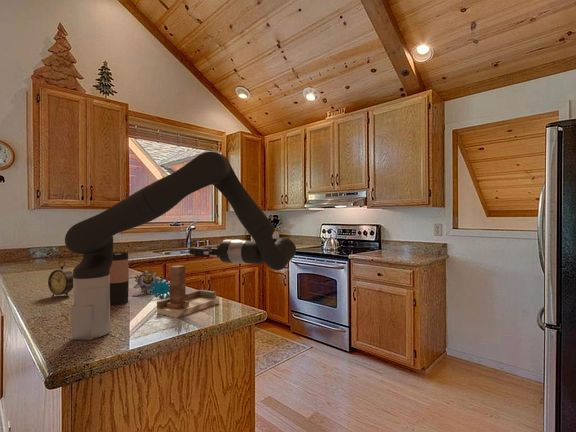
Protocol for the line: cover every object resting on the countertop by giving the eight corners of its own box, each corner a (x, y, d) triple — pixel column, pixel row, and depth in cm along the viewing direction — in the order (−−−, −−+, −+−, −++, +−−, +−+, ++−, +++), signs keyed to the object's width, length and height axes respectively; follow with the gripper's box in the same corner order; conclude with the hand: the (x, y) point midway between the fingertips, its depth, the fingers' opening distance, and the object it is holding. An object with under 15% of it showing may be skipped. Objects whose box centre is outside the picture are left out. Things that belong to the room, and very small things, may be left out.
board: (176, 318, 109) (176, 305, 109) (157, 313, 114) (156, 301, 114) (218, 303, 127) (218, 292, 127) (200, 300, 132) (200, 289, 132)
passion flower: (148, 305, 145) (133, 287, 139) (140, 296, 153) (126, 278, 147) (169, 288, 150) (155, 270, 144) (160, 280, 158) (147, 263, 152)
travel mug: (103, 303, 128) (102, 253, 128) (121, 299, 135) (120, 251, 135) (115, 306, 124) (114, 254, 124) (133, 301, 131) (132, 252, 131)
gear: (149, 296, 132) (150, 276, 138) (147, 304, 135) (147, 284, 142) (177, 296, 137) (176, 277, 144) (174, 304, 141) (173, 285, 147)
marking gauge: (178, 309, 111) (178, 268, 111) (166, 307, 114) (166, 266, 114) (190, 305, 116) (190, 265, 116) (179, 303, 119) (178, 264, 119)
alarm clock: (47, 296, 140) (46, 260, 140) (59, 293, 146) (58, 258, 146) (66, 298, 137) (65, 260, 137) (77, 295, 142) (77, 259, 142)
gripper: (249, 238, 108) (213, 237, 116) (221, 241, 96) (183, 240, 104) (250, 260, 108) (214, 257, 116) (221, 266, 96) (183, 263, 104)
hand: (199, 249), depth 110 cm, fingers open, 8 cm apart
